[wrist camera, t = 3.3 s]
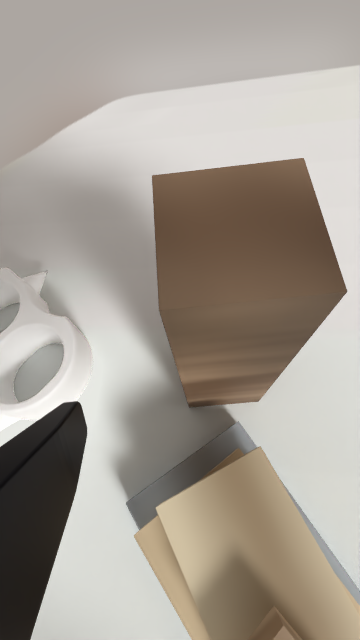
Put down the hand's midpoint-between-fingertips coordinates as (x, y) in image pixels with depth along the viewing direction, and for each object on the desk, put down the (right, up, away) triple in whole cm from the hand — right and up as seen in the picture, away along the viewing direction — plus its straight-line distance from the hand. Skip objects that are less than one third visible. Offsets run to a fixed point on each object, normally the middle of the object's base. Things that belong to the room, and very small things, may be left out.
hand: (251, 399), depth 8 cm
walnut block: (+1, -1, +11) cm, 11 cm away
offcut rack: (+1, -10, +7) cm, 12 cm away
